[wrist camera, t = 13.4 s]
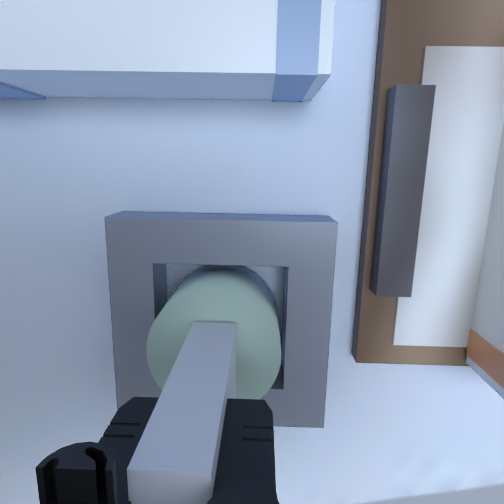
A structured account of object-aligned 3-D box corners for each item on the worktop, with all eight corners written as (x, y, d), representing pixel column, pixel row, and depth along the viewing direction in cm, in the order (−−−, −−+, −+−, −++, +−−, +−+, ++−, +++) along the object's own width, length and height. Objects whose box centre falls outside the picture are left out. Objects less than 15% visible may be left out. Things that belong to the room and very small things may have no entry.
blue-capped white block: (317, -30, 15) (344, -124, 10) (311, 103, 16) (331, 76, 11) (-28, -33, 15) (-161, -125, 10) (-11, 98, 16) (-125, 69, 11)
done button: (171, 363, 18) (148, 412, 14) (168, 262, 17) (143, 288, 13) (275, 366, 17) (278, 416, 14) (279, 264, 16) (283, 292, 13)
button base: (133, 394, 19) (118, 420, 17) (122, 211, 17) (104, 217, 15) (316, 400, 19) (323, 427, 17) (328, 215, 17) (337, 222, 15)
